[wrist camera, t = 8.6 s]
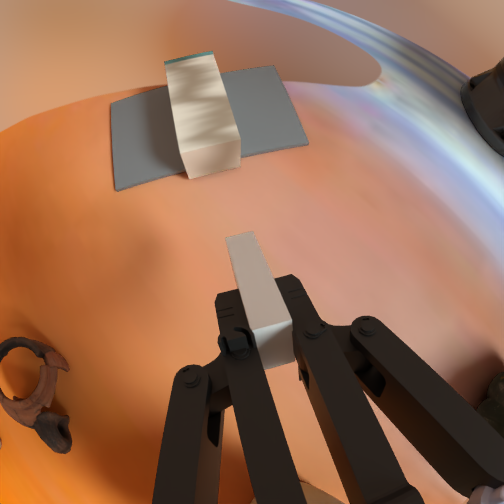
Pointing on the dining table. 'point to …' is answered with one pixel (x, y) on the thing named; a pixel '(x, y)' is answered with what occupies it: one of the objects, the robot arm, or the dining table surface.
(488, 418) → the squash
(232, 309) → the robot arm
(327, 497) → the plant pot
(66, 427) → the vr controller
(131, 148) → the mat
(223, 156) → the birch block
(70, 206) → the dining table surface
